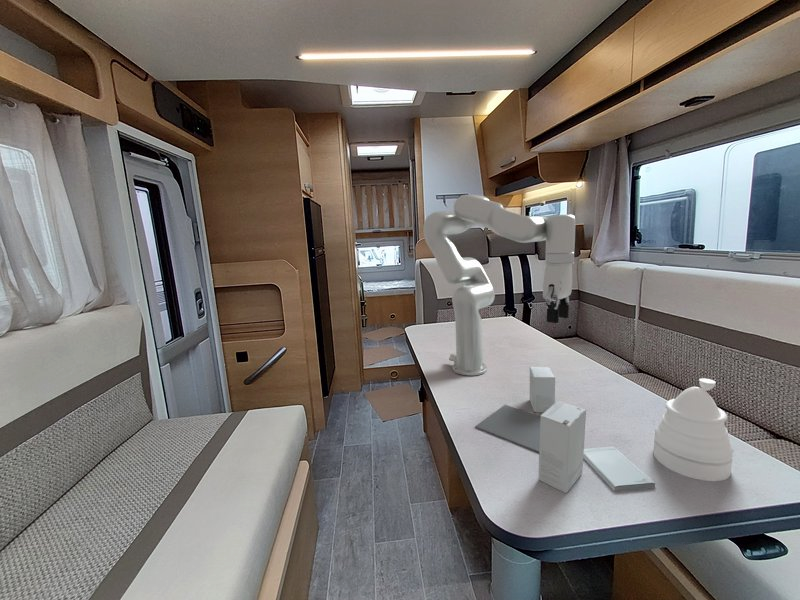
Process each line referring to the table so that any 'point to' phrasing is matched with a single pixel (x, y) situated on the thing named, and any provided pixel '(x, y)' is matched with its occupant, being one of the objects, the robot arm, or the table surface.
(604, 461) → the hard drive
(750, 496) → the table surface
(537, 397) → the small box
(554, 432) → the skincare box
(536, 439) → the rubber mat
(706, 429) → the honey pot
